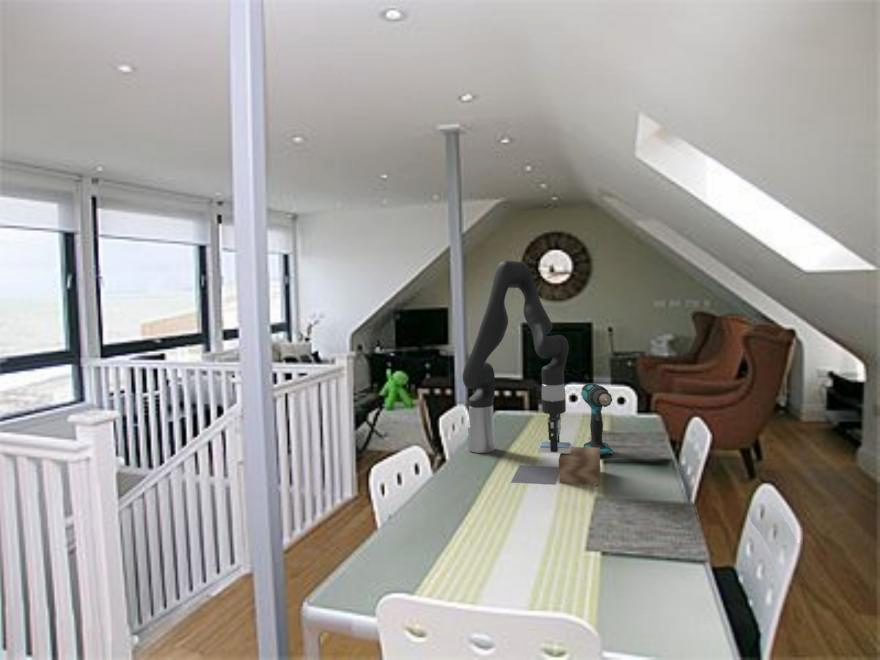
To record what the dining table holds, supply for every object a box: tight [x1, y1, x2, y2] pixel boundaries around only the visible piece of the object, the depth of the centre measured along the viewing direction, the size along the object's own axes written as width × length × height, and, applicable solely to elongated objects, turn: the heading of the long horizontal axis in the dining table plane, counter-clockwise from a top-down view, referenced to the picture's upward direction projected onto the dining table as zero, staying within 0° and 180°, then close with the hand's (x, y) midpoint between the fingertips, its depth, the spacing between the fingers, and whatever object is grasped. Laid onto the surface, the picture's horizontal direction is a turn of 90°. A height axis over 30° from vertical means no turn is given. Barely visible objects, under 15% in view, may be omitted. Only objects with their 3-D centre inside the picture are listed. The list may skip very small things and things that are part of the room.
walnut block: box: [558, 446, 601, 487], centre depth 199 cm, size 12×14×8 cm
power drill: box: [580, 382, 613, 455], centre depth 223 cm, size 26×9×25 cm, turn 179°
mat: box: [510, 464, 559, 486], centre depth 203 cm, size 14×18×1 cm
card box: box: [537, 441, 573, 454], centre depth 201 cm, size 10×6×2 cm, turn 74°
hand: (555, 448), depth 201 cm, fingers closed on card box, 6 cm apart
